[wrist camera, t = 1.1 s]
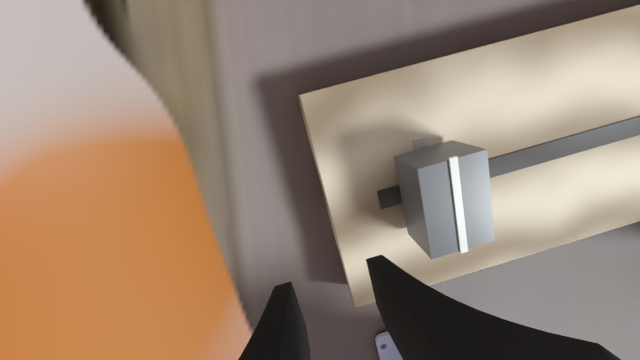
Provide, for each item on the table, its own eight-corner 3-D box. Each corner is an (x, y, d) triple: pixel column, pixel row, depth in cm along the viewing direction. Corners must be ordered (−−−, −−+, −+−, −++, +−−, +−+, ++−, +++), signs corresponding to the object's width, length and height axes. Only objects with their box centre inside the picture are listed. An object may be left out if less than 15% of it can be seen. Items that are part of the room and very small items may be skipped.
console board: (663, 189, 24) (708, 201, 21) (347, 284, 22) (355, 308, 20) (685, -8, 19) (744, -23, 17) (296, 94, 18) (299, 94, 16)
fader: (461, 219, 19) (496, 243, 16) (408, 235, 18) (432, 261, 15) (452, 138, 17) (488, 147, 14) (393, 154, 17) (418, 167, 14)
